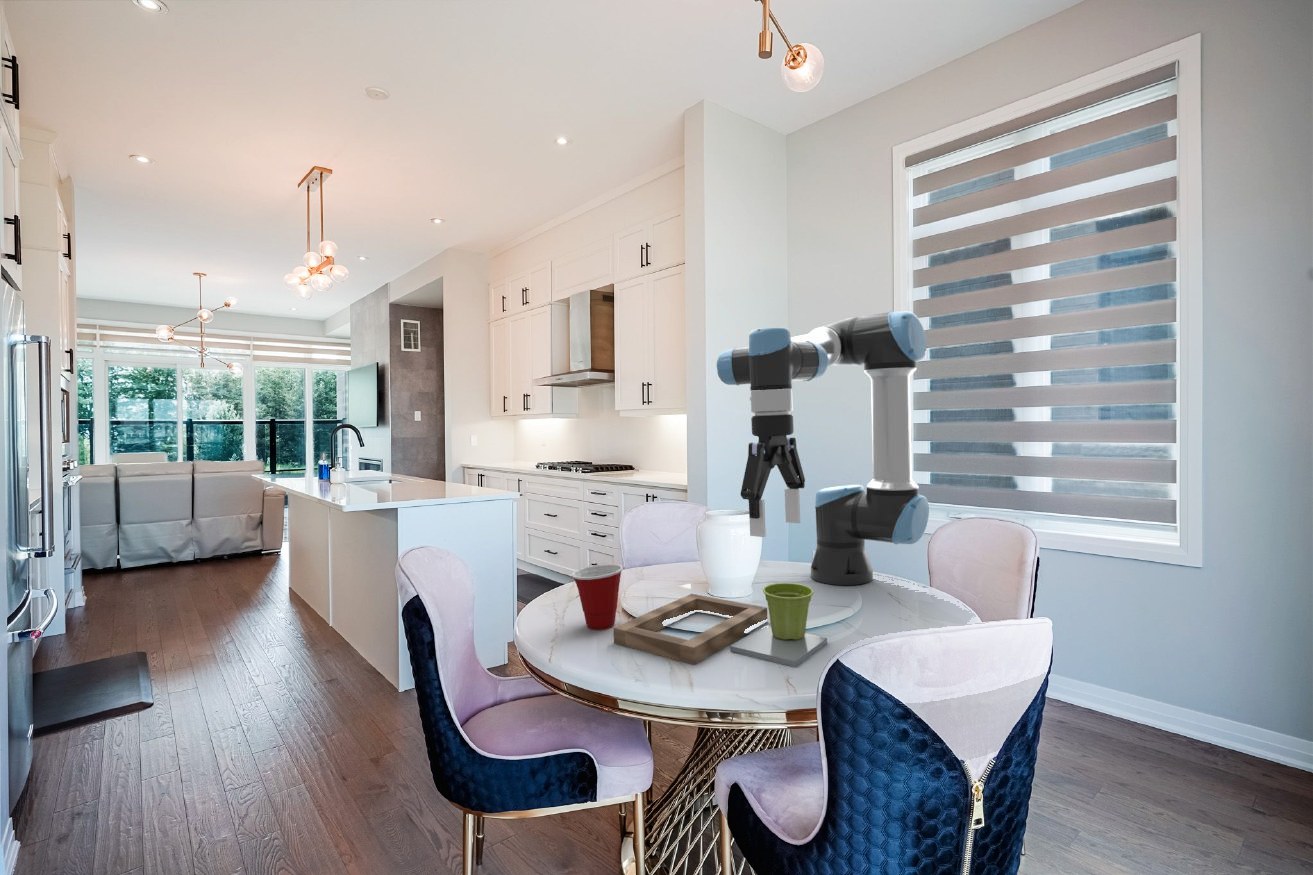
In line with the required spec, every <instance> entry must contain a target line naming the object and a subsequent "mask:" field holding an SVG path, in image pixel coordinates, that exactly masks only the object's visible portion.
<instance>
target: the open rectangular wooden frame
mask: <svg viewBox="0 0 1313 875" xmlns="http://www.w3.org/2000/svg"><path fill="white" fill-rule="evenodd" d="M694 610H703V611H710V612H714V613H719V614H722V615H729V616H733V617H731V618H729V619H728V618H726V619H725V620H723V621H722V622H720V623H718V624H716V625H714V626H712V627H710V628H708V629H706V630H705V631H702V632H701V633H698V634H697V635H695V636H693V637H691V638H689V639H685V638H681V637H677V636H673V635H669V634H665V633H660V632H658V631H660V630H663V629H664V628H666V627H665V626H663V624H662V622H663V621H664V620H666V619H670V618H673V617H677V616H679V615H683V614H685V613H688V612H690V611H694ZM766 619H768V606H767V607H766V606H761V605H755V604H750V603H744V602H739V601H734V600H727V599H723V598H717V597H713V596H712V597H711V596H707V595H702V594H701V595H700V594H696V593H695V594H694V593H690V594H688V595H686V596H683V597H681V598H679V599H677V600H674V601H672V602H669V603H667V604H666V605H663V606H660V607H658V608H656V609H654V610H653V609H652V611H649V612H646V613H643V614H641V615H640V616H637V617H635V618H632V619H630V620H628V621H626V622H624V623H621V624H619V625H617V626H615V627H614V626H613V629H612V630H613V631H612V632H613V644H616V645H619V646H624V647H627V648H631V649H635V650H638V651H642V652H646V653H650V654H653V655H655V656H656V655H657V656H662V657H663V658H664V657H665V658H667V659H668V658H669V659H671V660H676V661H679V662H683V663H686V664H690V665H696V664H698V663H700V662H701V661H703V660H705V659H707V658H708V657H710V656H711V655H714V654H715V653H717V652H719V651H720V650H722V649H724V648H726V647H727V646H728V645H729V646H730V645H732V644H733V642H734V643H735V642H737V640H740V639H742V637H743V638H744V637H745V636H747V634H746V633H744V631H745V629H747V628H749V627H750V626H752V625H754V624H757V623H758V622H761V621H763V620H766Z"/></svg>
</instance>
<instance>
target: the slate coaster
mask: <svg viewBox="0 0 1313 875" xmlns="http://www.w3.org/2000/svg"><path fill="white" fill-rule="evenodd" d="M761 627H762V628H763V626H761ZM761 627H759V628H757V629H755V631H752V632H750V633H749V634H747V635H745V636H743V638H740V639H738V641H735V642H734V643H732V644H730V645H729V649H730V650H729V651H730V652H731V653H736V654H740V655H743V656H748V657H752V658H757V659H760V660H765V661H770V662H773V663H777V664H781V665H785V666H790V667H793V668H796V667H797V666H799V665H800V664H802V663H803V662H804V661H805V660H806V659H808V658H810V657H811V656H812V655H814V654H815V653H816V652H818V651H819V650H821V649H822V648H823V647H824V646H826V645H827V644H828V637H824V636H820V635H815V634H810V633H806V632H805V636H804V637H803V638H801V639H798V640H794V639H788V640H783V639H780V638H777V637H775V636H773V634H772V630H771V627H768V628H767V627H765V628H763V629H761Z"/></svg>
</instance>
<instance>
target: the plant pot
mask: <svg viewBox="0 0 1313 875" xmlns="http://www.w3.org/2000/svg"><path fill="white" fill-rule="evenodd" d="M762 592H763V594H764V595H765V600H766V601H767V610H768V615H769V620H770V621H769V622H770V623H769V624H770V626H771V630H772V634H773V636H775V637H777V638H780V639H783V640H788V639H794V640H798V639H801V638H803V637H804V636H805V633H806V629H807V622H808V614H809V606H810V602H811V600H812V596H813V595H814V593H815V592H814V589H813V588H812V587H810V586H808V585H805V584H800V583H795V582H794V583H792V582H779V583H777V582H776V583H772V584H770V583H769V584H767V585H766V586H764V587H763V588H762Z"/></svg>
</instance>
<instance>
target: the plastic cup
mask: <svg viewBox="0 0 1313 875" xmlns="http://www.w3.org/2000/svg"><path fill="white" fill-rule="evenodd" d="M623 568H624V567H623V565H621V564H618V563H617V564H616V563H604V564H603V563H602V564H594V565H590V566H585V567H582V568H579V569H577V570H574V571H572V573H571V574H570V575H571V578H573V580H574V583H575V584H576V587H577V590H578V596H579V598H580V599H579V600H580V603H581V607H582V612H583V614H584V620H585V624H586V627H587V628H588V629H590V630H596V631H600V630H601V631H603V630H608V629H610V628H612V627H614V626H615V623H616V617H617V610H618V600H619V590H620V582H621V574H622V571H623Z"/></svg>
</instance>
